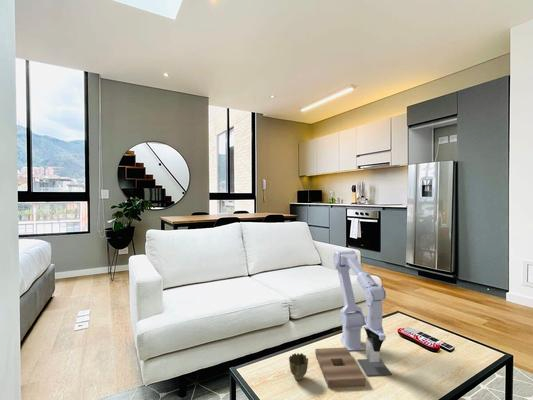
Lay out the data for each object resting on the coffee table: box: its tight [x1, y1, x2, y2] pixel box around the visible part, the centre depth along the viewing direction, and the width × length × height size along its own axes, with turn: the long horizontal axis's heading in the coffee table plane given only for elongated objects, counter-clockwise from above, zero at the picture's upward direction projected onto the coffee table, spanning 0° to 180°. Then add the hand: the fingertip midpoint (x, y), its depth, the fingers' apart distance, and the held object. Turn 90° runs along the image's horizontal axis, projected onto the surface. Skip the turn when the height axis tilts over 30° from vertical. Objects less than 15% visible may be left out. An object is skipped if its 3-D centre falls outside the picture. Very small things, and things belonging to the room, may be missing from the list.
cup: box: [288, 352, 309, 381], centre depth 110 cm, size 8×7×8 cm
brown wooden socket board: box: [314, 346, 366, 389], centre depth 115 cm, size 20×14×3 cm
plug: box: [365, 337, 381, 362], centre depth 116 cm, size 4×4×8 cm
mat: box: [357, 358, 393, 377], centre depth 116 cm, size 10×10×1 cm
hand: (374, 347), depth 116 cm, fingers closed on plug, 4 cm apart
